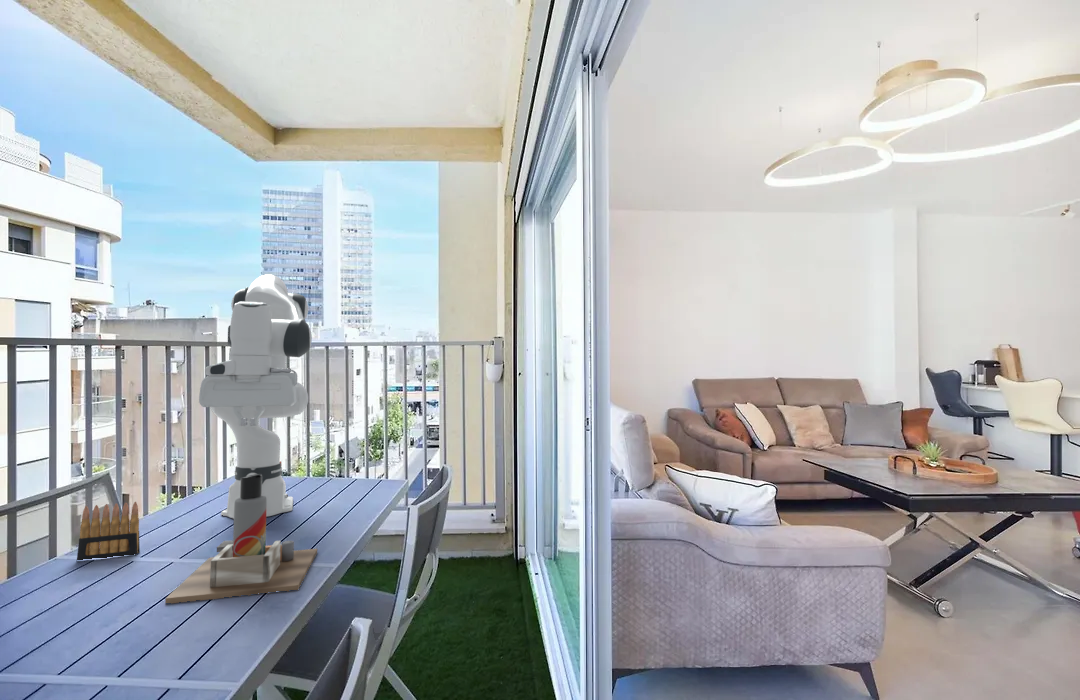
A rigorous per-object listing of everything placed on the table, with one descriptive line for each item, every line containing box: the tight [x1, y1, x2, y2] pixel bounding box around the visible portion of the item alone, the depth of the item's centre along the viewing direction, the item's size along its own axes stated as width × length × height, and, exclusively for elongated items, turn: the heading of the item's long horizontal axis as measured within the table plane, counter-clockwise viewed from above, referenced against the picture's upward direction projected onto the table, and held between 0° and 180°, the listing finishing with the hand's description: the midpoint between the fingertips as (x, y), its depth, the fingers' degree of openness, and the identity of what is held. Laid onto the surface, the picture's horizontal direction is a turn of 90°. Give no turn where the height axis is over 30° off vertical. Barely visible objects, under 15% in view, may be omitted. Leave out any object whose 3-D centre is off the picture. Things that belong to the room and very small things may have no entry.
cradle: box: [164, 539, 318, 604], centre depth 101 cm, size 20×22×6 cm
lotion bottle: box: [232, 474, 267, 557], centre depth 99 cm, size 6×6×20 cm
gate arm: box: [265, 540, 295, 561], centre depth 105 cm, size 13×2×4 cm, turn 104°
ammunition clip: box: [76, 501, 141, 561], centre depth 110 cm, size 11×2×12 cm, turn 113°
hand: (248, 425), depth 117 cm, fingers closed
